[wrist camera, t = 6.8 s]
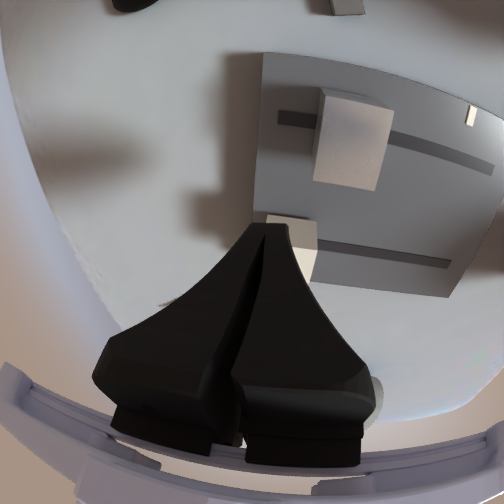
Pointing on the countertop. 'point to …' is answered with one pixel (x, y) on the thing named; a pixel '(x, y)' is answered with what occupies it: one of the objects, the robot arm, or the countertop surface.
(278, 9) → the countertop surface
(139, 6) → the gun
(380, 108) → the steel fader
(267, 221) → the block
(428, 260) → the gray slider board
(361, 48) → the countertop surface
